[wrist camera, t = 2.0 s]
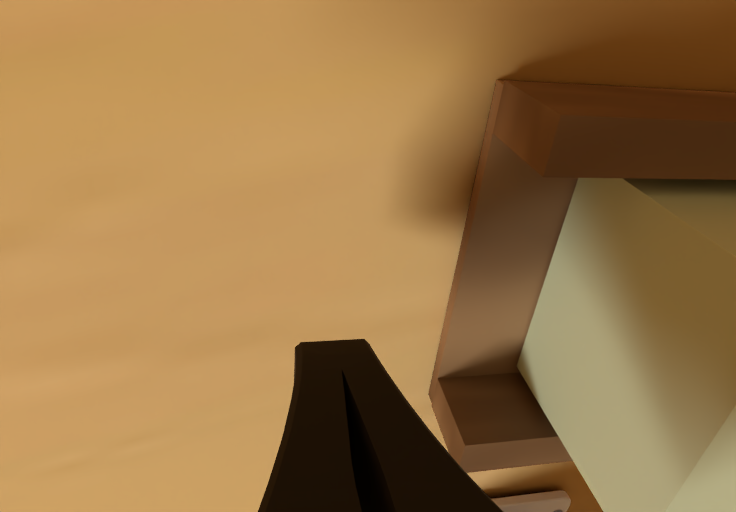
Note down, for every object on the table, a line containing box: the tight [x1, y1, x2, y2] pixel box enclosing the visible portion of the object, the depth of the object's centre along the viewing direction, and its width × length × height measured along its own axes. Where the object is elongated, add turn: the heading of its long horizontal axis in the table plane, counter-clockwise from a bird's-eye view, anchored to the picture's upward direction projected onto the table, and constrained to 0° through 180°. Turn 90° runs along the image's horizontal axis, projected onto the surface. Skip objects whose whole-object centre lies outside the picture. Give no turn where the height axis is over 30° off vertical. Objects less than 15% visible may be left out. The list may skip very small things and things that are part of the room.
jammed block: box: [517, 178, 736, 512], centre depth 12 cm, size 7×5×6 cm
